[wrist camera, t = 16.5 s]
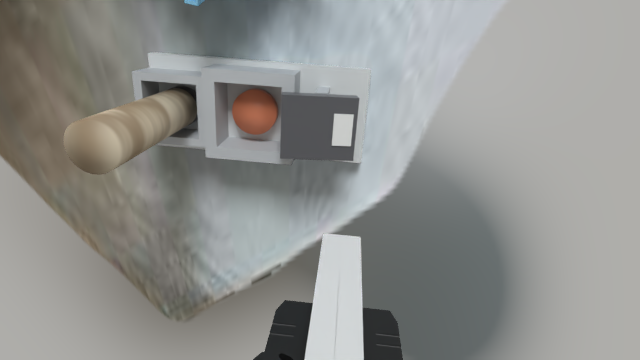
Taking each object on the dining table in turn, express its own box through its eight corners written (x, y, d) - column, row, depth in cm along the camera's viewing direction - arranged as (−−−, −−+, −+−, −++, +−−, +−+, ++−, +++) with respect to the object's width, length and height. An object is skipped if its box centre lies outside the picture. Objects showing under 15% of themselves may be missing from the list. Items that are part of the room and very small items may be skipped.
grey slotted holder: (163, 141, 45) (138, 156, 40) (154, 52, 41) (126, 55, 36) (360, 158, 44) (361, 176, 39) (370, 68, 40) (372, 74, 35)
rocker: (280, 153, 37) (279, 159, 36) (281, 91, 35) (281, 94, 34) (350, 156, 38) (353, 161, 37) (356, 95, 36) (359, 98, 35)
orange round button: (236, 129, 42) (232, 132, 41) (235, 86, 40) (231, 88, 39) (277, 133, 42) (275, 136, 40) (278, 90, 40) (276, 92, 39)
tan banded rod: (167, 121, 42) (68, 172, 28) (164, 84, 41) (57, 116, 26) (203, 124, 42) (123, 177, 27) (202, 87, 41) (116, 121, 26)
